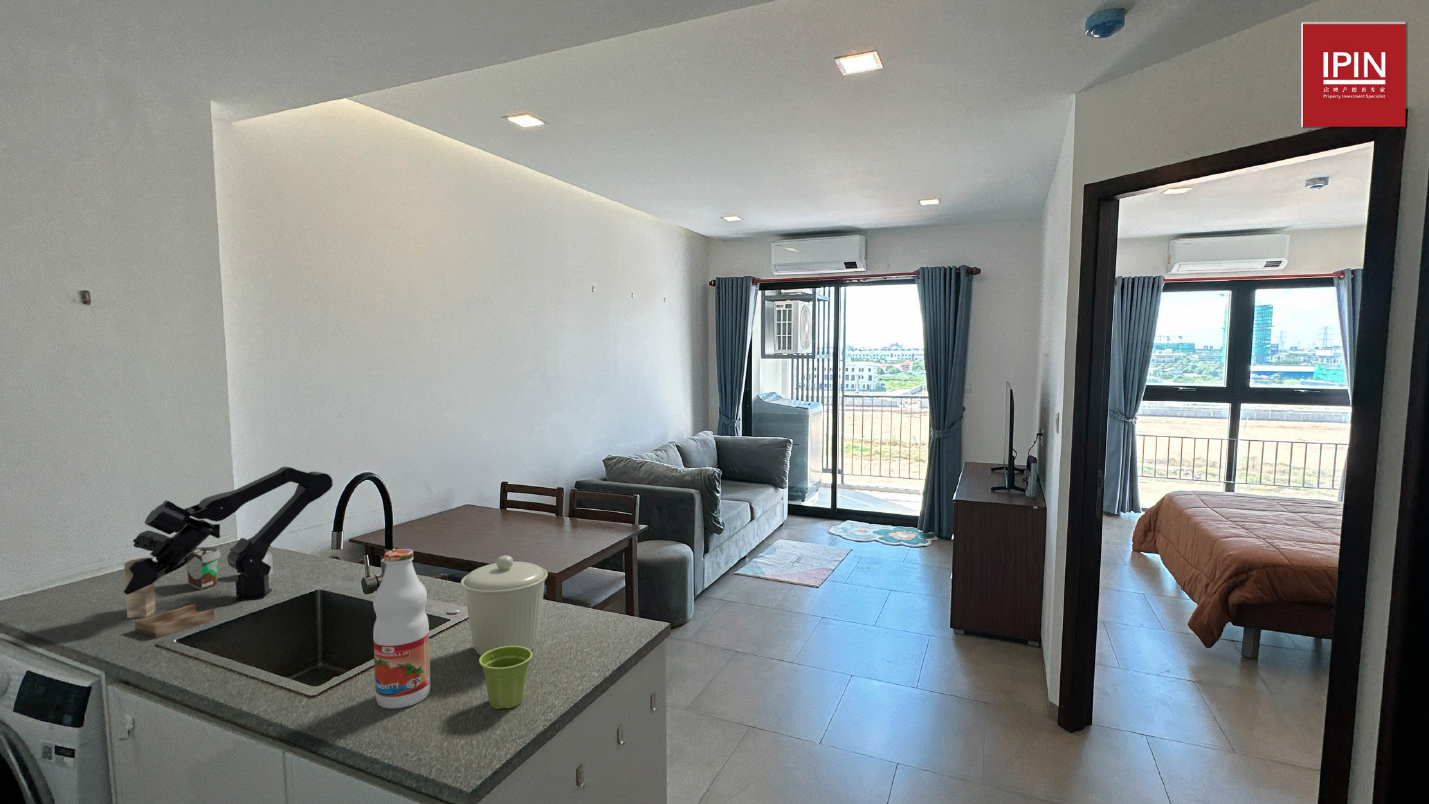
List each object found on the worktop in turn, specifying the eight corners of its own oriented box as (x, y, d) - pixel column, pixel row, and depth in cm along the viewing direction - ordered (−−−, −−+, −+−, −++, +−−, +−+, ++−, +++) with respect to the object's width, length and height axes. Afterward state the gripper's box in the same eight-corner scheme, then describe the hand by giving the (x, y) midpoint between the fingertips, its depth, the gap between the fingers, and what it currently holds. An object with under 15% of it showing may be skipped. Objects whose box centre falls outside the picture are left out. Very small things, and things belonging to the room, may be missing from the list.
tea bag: (256, 572, 198) (255, 539, 197) (273, 574, 196) (271, 541, 195) (244, 576, 195) (242, 543, 194) (261, 578, 193) (259, 544, 192)
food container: (229, 584, 187) (228, 550, 186) (204, 591, 182) (202, 555, 181) (211, 577, 193) (209, 544, 193) (186, 583, 188) (184, 549, 188)
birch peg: (155, 611, 167) (152, 557, 166) (146, 616, 163) (143, 562, 162) (136, 612, 166) (133, 558, 165) (127, 618, 162) (124, 563, 161)
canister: (461, 640, 148) (458, 550, 147) (542, 627, 155) (540, 541, 154) (464, 675, 132) (461, 573, 130) (555, 659, 139) (553, 562, 138)
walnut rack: (193, 613, 165) (192, 604, 165) (214, 619, 161) (213, 609, 161) (135, 631, 154) (134, 621, 154) (156, 638, 150) (155, 627, 150)
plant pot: (511, 684, 128) (510, 641, 128) (543, 698, 123) (542, 653, 122) (469, 704, 121) (468, 659, 120) (502, 720, 115) (501, 672, 115)
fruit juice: (440, 686, 127) (436, 546, 126) (410, 712, 118) (405, 560, 116) (397, 683, 129) (392, 543, 127) (364, 707, 120) (358, 558, 118)
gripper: (177, 512, 173) (130, 556, 171) (137, 529, 155) (83, 578, 153) (213, 539, 176) (167, 582, 174) (177, 558, 158) (125, 608, 156)
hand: (136, 587), depth 164 cm, fingers open, 9 cm apart
